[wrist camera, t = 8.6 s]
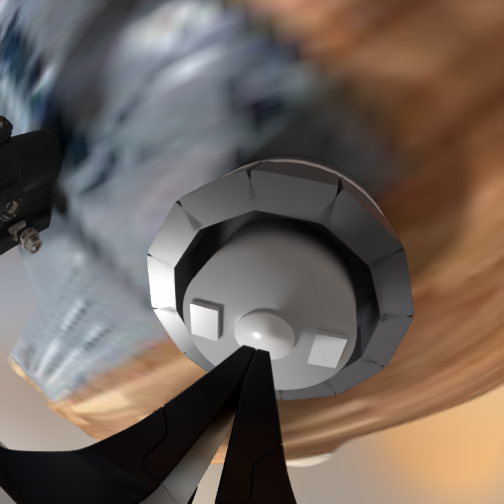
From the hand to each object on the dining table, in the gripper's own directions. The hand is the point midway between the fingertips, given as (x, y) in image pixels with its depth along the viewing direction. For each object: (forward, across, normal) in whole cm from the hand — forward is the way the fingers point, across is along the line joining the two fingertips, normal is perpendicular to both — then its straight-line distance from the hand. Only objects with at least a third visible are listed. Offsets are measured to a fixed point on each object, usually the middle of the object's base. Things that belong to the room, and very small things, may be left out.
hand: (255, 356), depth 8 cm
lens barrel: (+7, 0, 0) cm, 7 cm away
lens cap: (+4, 0, 0) cm, 4 cm away
